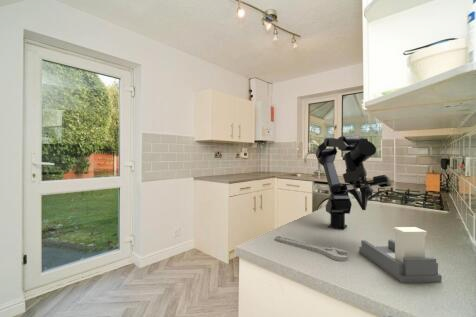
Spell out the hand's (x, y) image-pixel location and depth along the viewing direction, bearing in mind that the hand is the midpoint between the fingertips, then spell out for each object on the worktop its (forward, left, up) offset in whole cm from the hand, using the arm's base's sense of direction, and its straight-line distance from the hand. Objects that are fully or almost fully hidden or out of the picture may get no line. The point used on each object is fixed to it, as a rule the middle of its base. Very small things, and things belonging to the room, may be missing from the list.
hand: (364, 210), depth 78 cm
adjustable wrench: (+12, -14, -13) cm, 23 cm away
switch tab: (+13, +13, -11) cm, 21 cm away
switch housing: (+9, +9, -12) cm, 18 cm away
